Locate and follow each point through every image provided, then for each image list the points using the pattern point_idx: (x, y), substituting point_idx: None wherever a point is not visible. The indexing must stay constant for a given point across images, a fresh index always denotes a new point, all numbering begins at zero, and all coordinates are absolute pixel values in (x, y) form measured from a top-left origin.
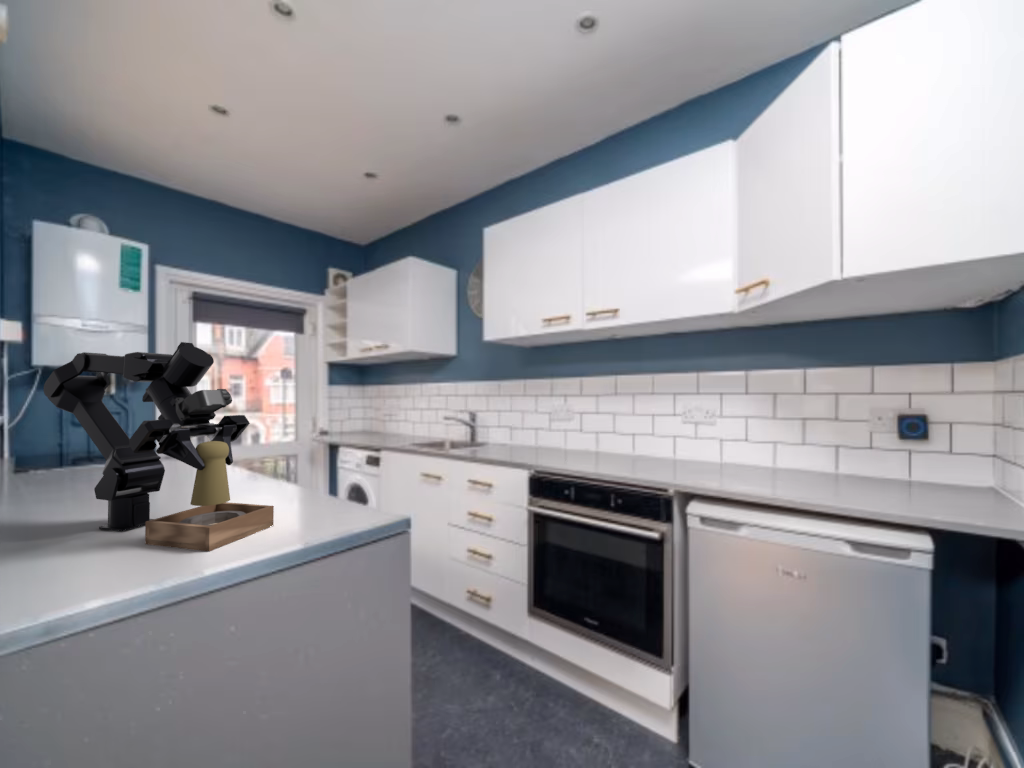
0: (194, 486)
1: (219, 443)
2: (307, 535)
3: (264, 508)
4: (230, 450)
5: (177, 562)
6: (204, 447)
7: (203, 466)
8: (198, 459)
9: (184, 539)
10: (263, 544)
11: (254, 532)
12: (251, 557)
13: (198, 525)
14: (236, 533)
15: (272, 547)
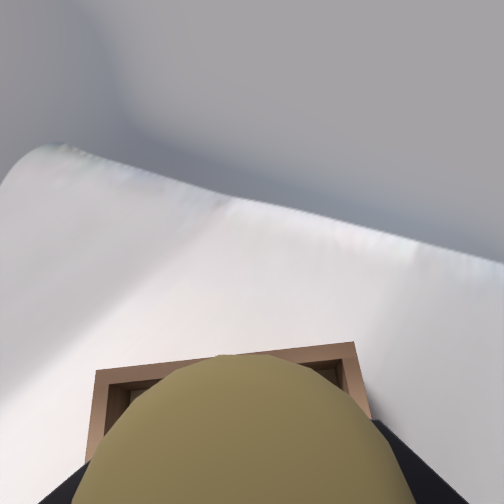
0: None
1: (237, 387)
2: (176, 237)
3: (131, 371)
4: (58, 494)
5: (422, 360)
6: (389, 459)
7: (372, 420)
8: (414, 460)
9: None
10: (255, 277)
11: None
12: (321, 236)
13: (357, 400)
14: None
15: (262, 244)
